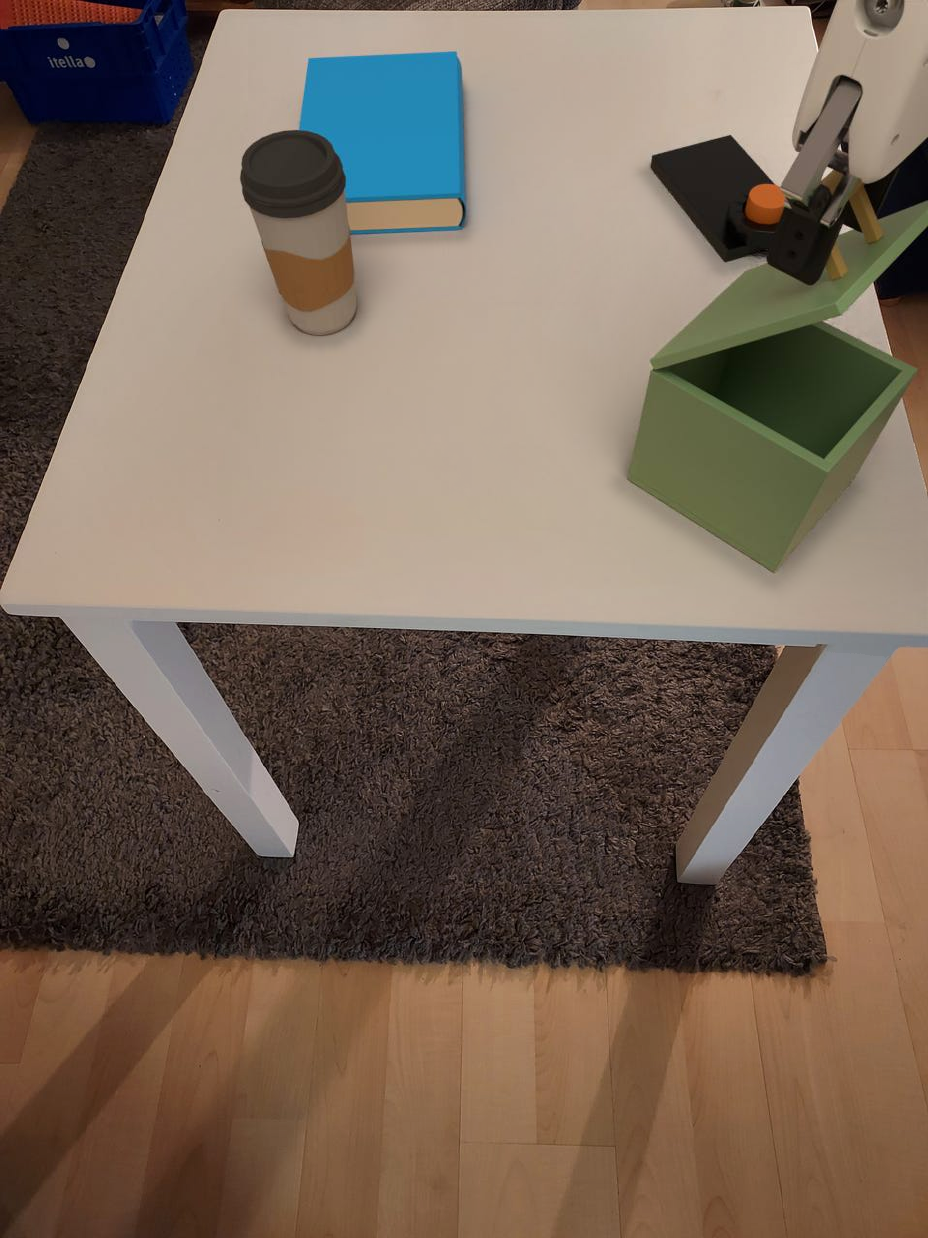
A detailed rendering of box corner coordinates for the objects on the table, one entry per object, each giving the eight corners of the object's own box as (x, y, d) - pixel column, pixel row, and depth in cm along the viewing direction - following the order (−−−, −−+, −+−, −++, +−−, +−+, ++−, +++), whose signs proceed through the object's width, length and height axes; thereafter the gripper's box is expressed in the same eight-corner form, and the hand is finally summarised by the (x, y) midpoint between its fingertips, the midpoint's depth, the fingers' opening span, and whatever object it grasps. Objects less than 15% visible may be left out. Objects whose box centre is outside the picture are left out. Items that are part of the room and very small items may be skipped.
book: (288, 201, 80) (305, 54, 92) (298, 240, 84) (312, 94, 96) (468, 192, 80) (461, 45, 92) (469, 232, 84) (462, 86, 95)
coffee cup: (381, 292, 79) (358, 135, 66) (346, 353, 75) (314, 199, 62) (302, 275, 81) (264, 118, 68) (263, 333, 77) (215, 179, 64)
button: (791, 219, 78) (796, 202, 77) (756, 228, 78) (761, 211, 76) (771, 196, 80) (776, 179, 78) (737, 206, 79) (742, 188, 78)
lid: (946, 207, 48) (911, 113, 46) (842, 315, 44) (798, 217, 42) (748, 281, 61) (714, 209, 59) (654, 370, 57) (613, 297, 55)
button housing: (815, 246, 80) (826, 217, 78) (731, 270, 79) (739, 242, 76) (727, 146, 88) (734, 117, 86) (650, 166, 87) (654, 138, 84)
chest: (853, 479, 67) (918, 368, 56) (774, 573, 63) (828, 472, 52) (709, 397, 71) (744, 281, 61) (627, 479, 67) (650, 370, 57)
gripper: (970, -36, 29) (796, 358, 45) (1162, -200, 35) (947, 201, 51) (781, -102, 31) (680, 294, 47) (990, -244, 37) (836, 151, 53)
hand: (819, 243), depth 49 cm, fingers closed on lid, 5 cm apart
